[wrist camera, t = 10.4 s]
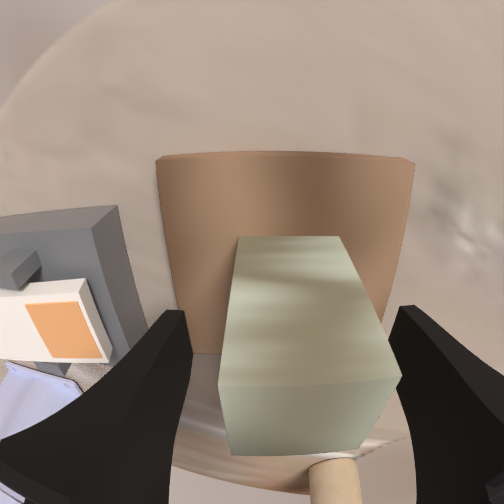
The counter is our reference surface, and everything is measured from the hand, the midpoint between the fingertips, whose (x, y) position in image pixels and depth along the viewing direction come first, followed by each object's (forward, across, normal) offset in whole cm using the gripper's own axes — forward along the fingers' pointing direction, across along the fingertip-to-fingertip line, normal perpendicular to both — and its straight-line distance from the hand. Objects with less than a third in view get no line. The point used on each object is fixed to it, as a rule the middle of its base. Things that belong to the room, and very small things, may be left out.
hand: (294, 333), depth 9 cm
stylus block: (+4, 0, 0) cm, 4 cm away
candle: (+5, -7, +27) cm, 28 cm away
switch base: (+5, +12, +1) cm, 13 cm away
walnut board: (+4, 0, 0) cm, 4 cm away
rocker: (0, +12, +1) cm, 12 cm away
